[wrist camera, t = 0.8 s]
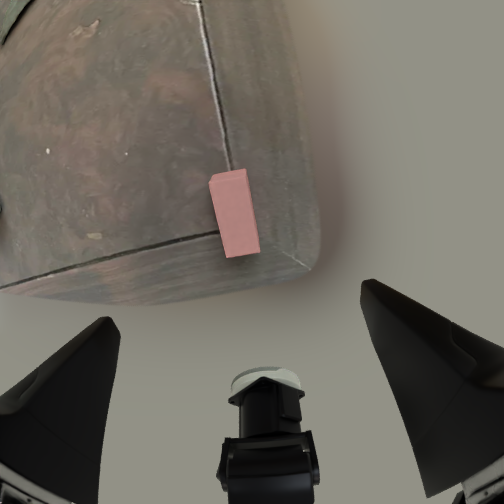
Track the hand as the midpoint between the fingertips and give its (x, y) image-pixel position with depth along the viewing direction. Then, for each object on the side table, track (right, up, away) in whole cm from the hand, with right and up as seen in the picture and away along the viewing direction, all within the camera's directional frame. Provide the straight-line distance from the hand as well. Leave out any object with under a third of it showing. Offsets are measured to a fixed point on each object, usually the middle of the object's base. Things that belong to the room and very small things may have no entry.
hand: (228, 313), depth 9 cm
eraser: (0, +5, +10) cm, 11 cm away
